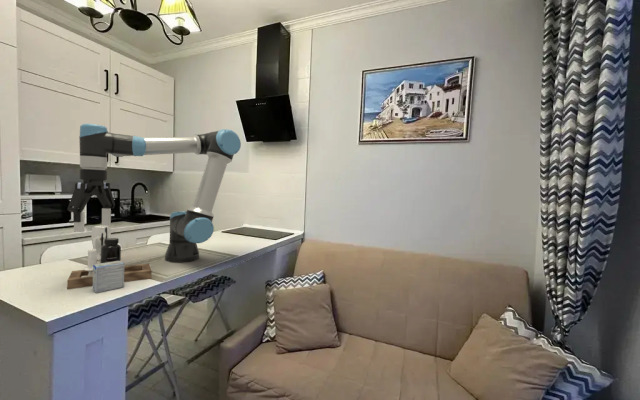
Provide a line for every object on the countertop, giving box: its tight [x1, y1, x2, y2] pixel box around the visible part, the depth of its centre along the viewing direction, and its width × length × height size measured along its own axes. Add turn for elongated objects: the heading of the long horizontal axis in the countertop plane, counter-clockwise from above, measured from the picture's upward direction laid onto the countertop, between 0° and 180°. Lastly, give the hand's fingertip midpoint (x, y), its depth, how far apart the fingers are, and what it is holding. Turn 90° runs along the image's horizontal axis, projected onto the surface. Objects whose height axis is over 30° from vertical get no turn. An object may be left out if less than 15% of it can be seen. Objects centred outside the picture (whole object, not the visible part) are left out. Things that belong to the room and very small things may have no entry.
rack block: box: [66, 263, 152, 290], centre depth 104 cm, size 24×11×3 cm, turn 125°
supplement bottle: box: [99, 237, 122, 264], centre depth 117 cm, size 7×7×12 cm
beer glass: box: [90, 224, 112, 261], centre depth 128 cm, size 7×7×15 cm
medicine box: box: [92, 261, 125, 294], centre depth 95 cm, size 8×4×9 cm, turn 141°
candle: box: [83, 247, 98, 276], centre depth 100 cm, size 5×5×12 cm
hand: (93, 228), depth 100 cm, fingers open, 13 cm apart
